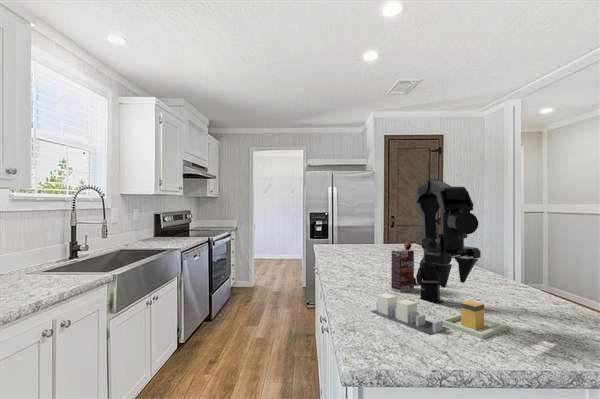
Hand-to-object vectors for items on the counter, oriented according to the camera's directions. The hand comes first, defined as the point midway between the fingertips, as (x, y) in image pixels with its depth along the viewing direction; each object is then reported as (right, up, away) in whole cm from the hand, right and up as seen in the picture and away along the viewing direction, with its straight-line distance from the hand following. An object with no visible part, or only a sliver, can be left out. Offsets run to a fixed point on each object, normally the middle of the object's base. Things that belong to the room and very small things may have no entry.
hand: (453, 284), depth 95 cm
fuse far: (-17, -10, +7) cm, 21 cm away
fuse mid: (-13, -10, 0) cm, 17 cm away
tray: (+3, -12, -5) cm, 13 cm away
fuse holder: (-13, -12, 0) cm, 18 cm away
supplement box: (-2, -12, +39) cm, 41 cm away
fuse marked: (+3, -11, -5) cm, 12 cm away
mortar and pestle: (+3, -12, +49) cm, 51 cm away
